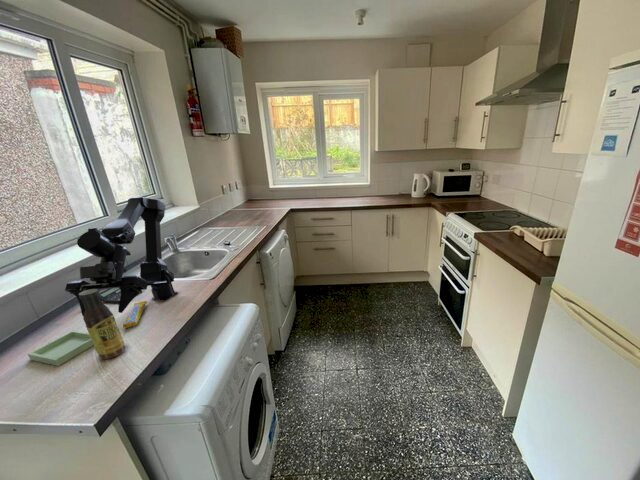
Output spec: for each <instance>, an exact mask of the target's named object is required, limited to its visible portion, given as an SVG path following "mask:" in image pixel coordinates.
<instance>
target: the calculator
mask: <svg viewBox="0 0 640 480" xmlns="http://www.w3.org/2000/svg"><path fill="white" fill-rule="evenodd" d="M99 293H100V298H101V300H102V302H103V303H106V304H119V302H120V296H121V291H120V288H111V289H104V290H103V291H101V292H99ZM139 294H140V293H138V294H137V295H139Z"/></svg>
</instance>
